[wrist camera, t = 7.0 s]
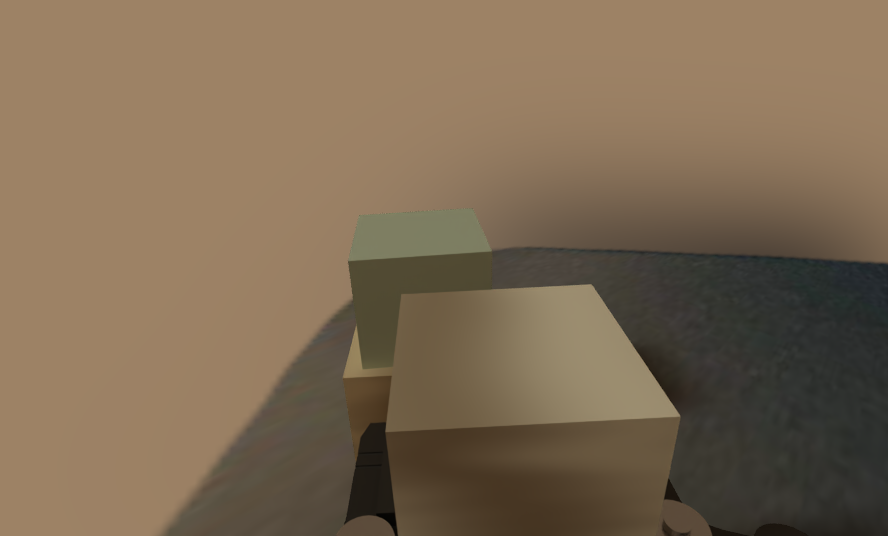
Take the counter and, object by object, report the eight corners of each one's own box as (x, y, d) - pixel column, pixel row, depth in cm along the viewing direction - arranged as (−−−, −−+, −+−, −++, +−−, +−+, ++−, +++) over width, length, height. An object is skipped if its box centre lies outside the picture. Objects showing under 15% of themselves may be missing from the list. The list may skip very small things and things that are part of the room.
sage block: (473, 298, 26) (472, 207, 24) (491, 359, 21) (492, 251, 19) (369, 306, 26) (359, 215, 23) (362, 369, 21) (348, 261, 18)
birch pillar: (564, 582, 16) (591, 284, 12) (610, 765, 12) (680, 416, 7) (428, 589, 16) (401, 294, 11) (427, 775, 12) (385, 431, 7)
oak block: (492, 367, 29) (492, 291, 26) (510, 459, 22) (512, 369, 20) (372, 372, 28) (363, 297, 26) (356, 467, 22) (342, 378, 20)
